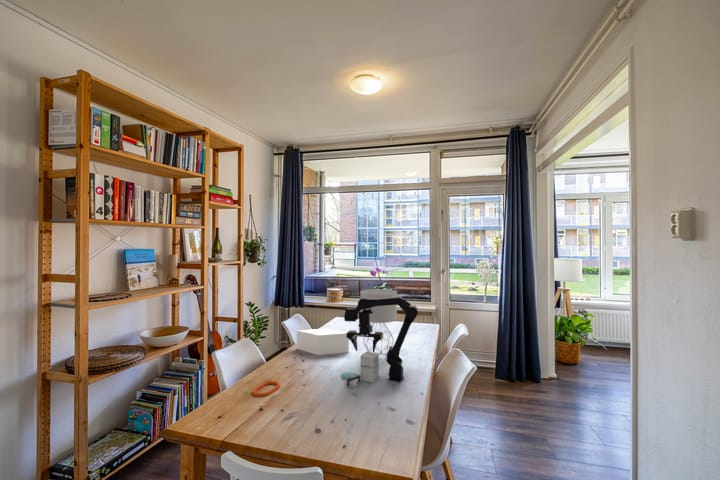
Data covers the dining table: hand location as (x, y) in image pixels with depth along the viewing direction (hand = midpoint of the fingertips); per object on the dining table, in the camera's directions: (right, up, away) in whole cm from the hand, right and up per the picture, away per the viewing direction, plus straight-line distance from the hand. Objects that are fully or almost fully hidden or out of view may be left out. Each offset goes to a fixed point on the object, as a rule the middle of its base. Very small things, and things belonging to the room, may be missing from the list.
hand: (365, 351), depth 170 cm
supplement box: (+2, -13, -3) cm, 14 cm away
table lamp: (+9, -14, +31) cm, 35 cm away
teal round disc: (-8, -13, 0) cm, 15 cm away
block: (-27, -14, +41) cm, 51 cm away
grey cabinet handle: (-7, -13, -10) cm, 17 cm away
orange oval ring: (-47, -13, -16) cm, 52 cm away
